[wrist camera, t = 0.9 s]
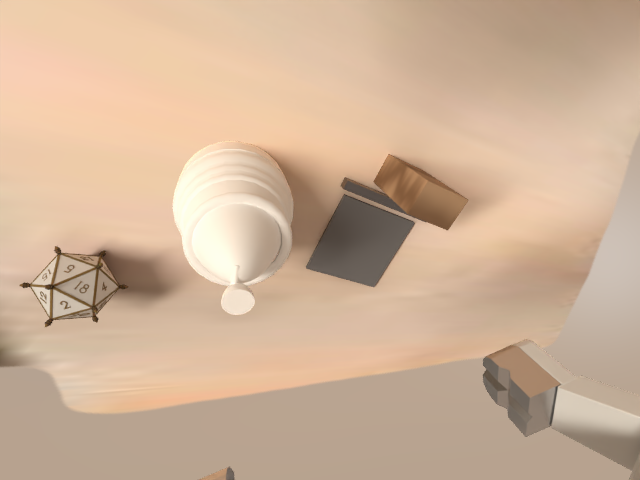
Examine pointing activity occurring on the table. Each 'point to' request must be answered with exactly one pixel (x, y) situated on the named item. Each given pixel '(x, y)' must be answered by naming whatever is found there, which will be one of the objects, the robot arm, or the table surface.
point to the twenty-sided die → (74, 286)
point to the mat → (359, 242)
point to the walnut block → (419, 193)
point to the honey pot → (234, 218)
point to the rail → (371, 194)
